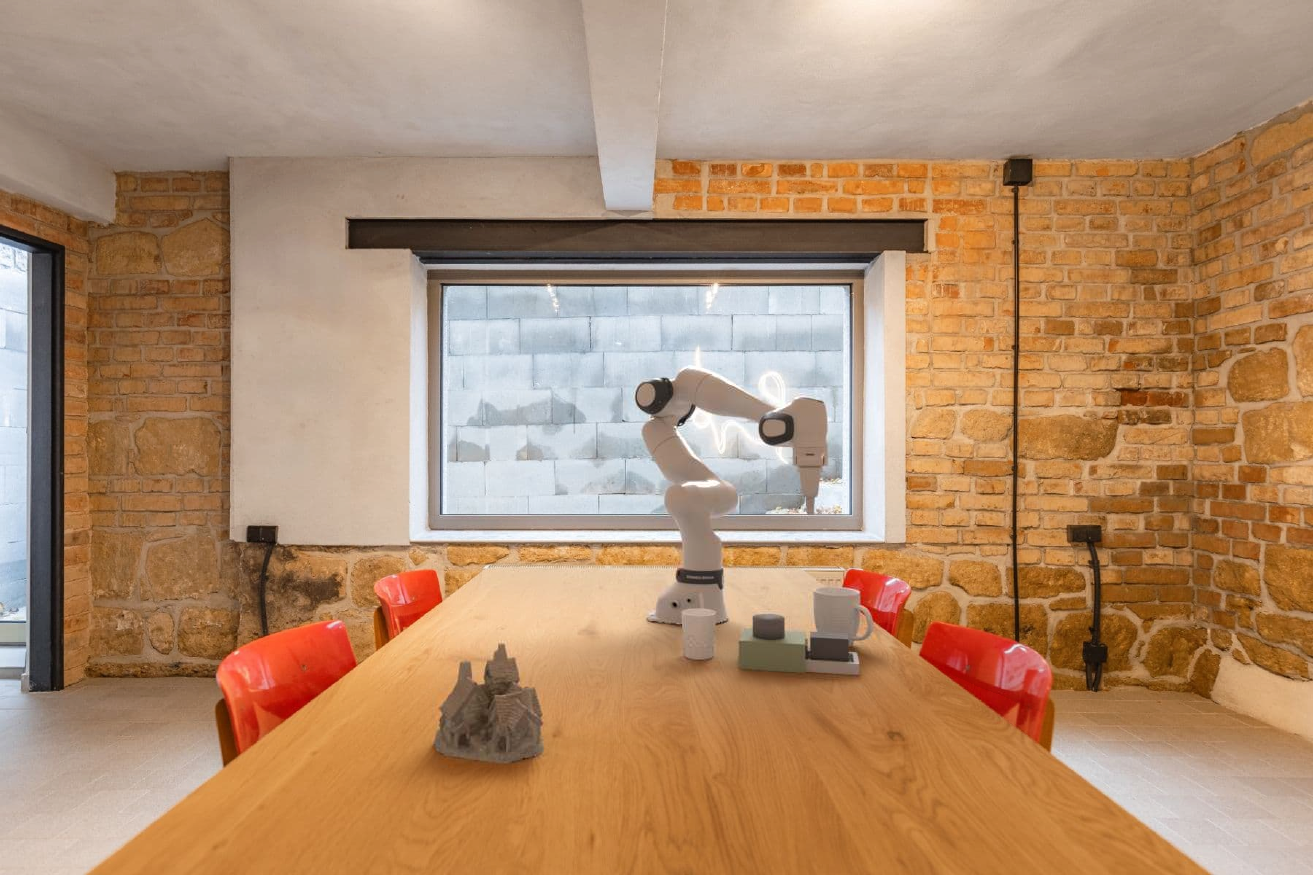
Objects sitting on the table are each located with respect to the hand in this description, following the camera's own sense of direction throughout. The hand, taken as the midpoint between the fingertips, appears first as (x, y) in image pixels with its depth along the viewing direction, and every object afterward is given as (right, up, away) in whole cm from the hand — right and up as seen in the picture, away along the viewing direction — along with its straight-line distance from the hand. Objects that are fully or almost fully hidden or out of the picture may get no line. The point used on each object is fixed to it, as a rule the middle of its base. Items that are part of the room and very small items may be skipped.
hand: (810, 513), depth 177 cm
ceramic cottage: (-66, -30, -67) cm, 99 cm away
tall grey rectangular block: (-2, -30, -27) cm, 40 cm away
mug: (+5, -31, -10) cm, 33 cm away
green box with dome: (-8, -30, -26) cm, 41 cm away
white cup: (-30, -31, -19) cm, 47 cm away
